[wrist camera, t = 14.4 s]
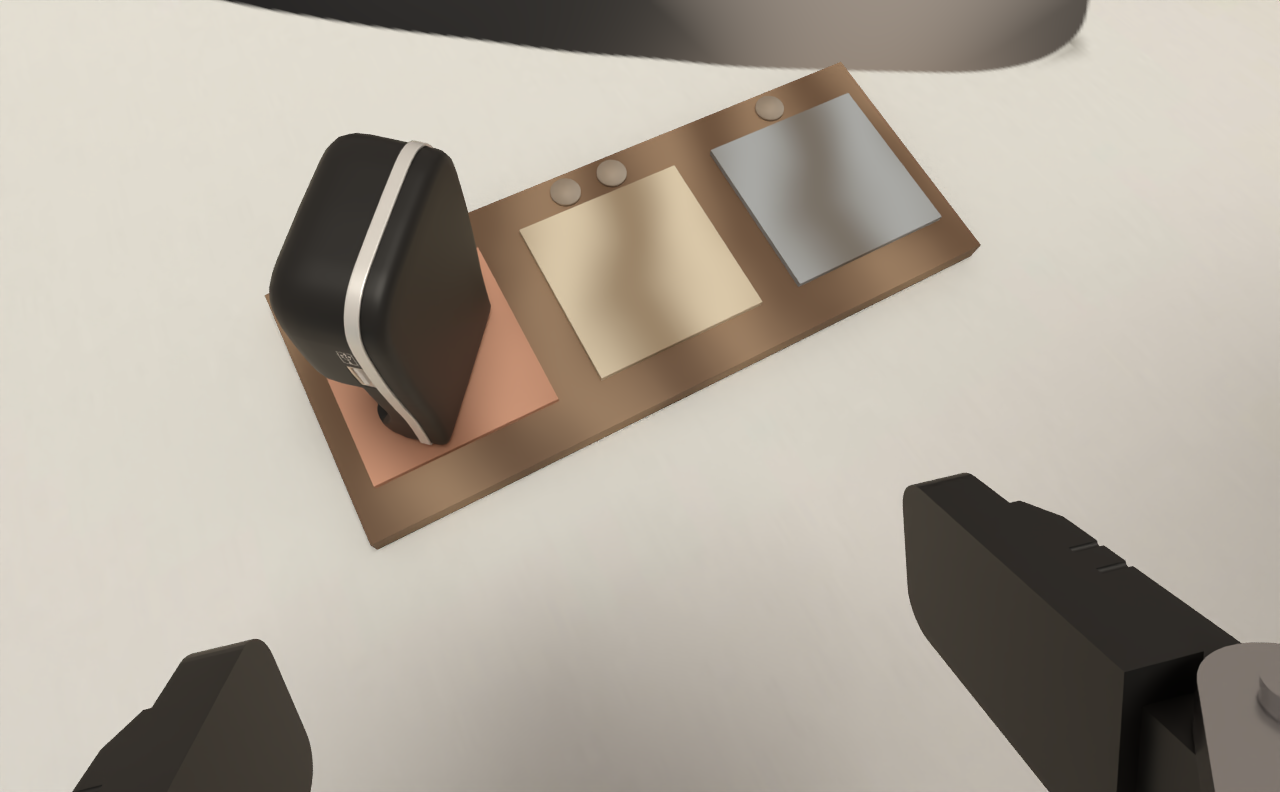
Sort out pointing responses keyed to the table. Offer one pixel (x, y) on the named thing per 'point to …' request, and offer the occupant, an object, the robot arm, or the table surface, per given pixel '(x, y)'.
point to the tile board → (654, 288)
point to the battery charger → (386, 281)
